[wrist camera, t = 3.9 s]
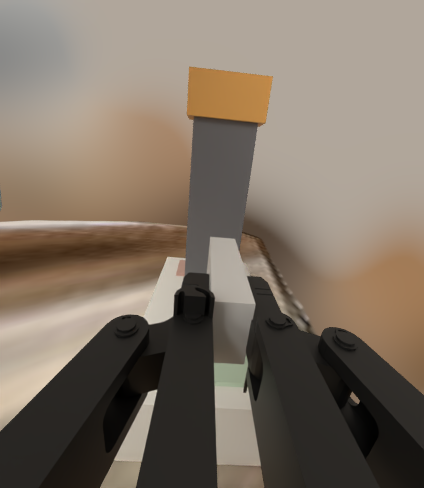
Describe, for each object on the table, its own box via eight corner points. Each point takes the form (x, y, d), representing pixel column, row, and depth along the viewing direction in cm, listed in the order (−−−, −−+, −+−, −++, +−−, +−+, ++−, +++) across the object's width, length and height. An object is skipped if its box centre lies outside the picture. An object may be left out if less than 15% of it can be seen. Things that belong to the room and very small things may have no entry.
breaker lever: (180, 283, 25) (191, 77, 19) (235, 287, 26) (265, 85, 19) (178, 295, 23) (189, 66, 16) (237, 299, 23) (272, 76, 17)
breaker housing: (166, 291, 37) (167, 253, 35) (240, 296, 38) (246, 259, 35) (114, 460, 16) (108, 395, 14) (280, 466, 17) (301, 405, 15)
